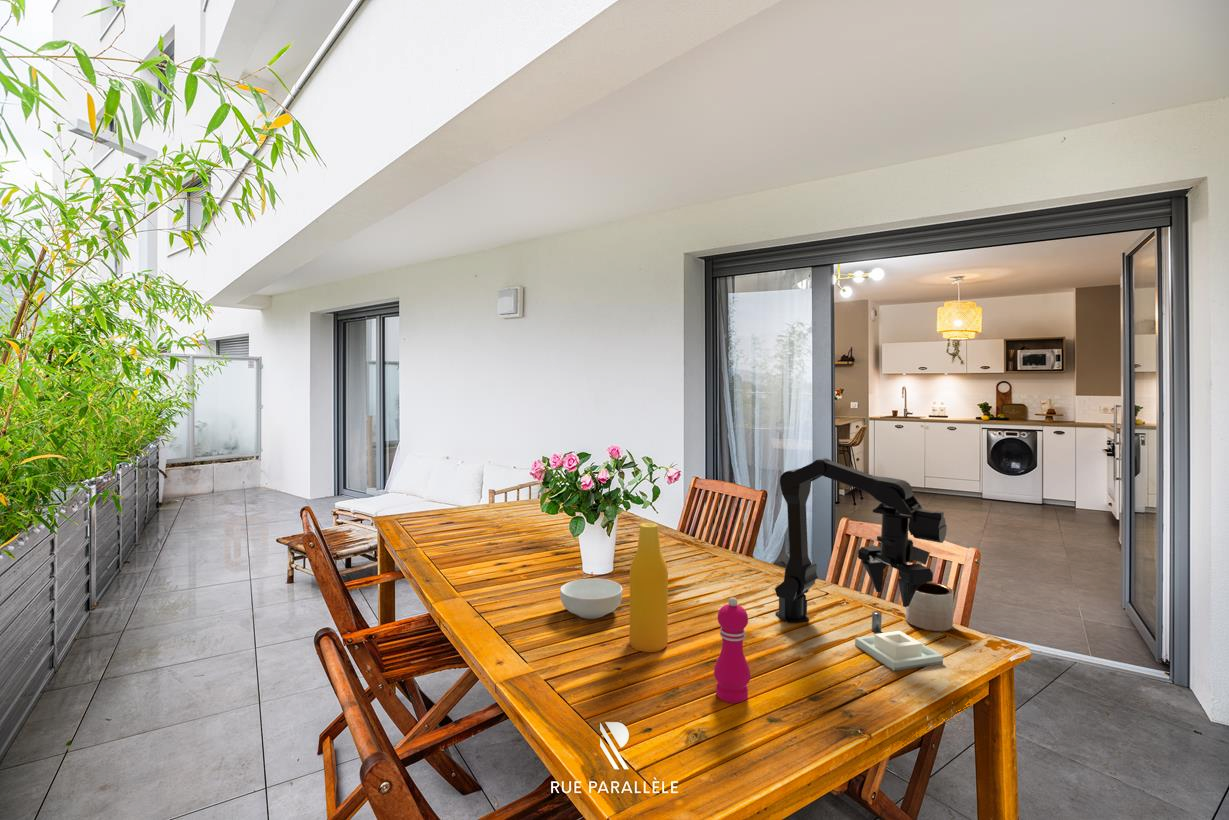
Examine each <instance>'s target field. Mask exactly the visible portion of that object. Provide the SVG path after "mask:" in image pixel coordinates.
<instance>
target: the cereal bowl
mask: <svg viewBox="0 0 1229 820" xmlns="http://www.w3.org/2000/svg"><path fill="white" fill-rule="evenodd" d="M623 591H624V590H623V586H622V585H621V584H620V583H619V582H616V581H614V580H610V579H606V578H605V579H604V578H594V577H593V578H582V579H580V578H579V579H575V580H572V581H571V580H570V581H568V582H566V583H565V584H563V585H562V586H561V587H560V589H559V593H560V595H559V596H560V601H561V604H562V605H563V607H564V608H565V609H566V610H567V611H569V612H570V613H571V614H573V615H576V616H578V617H580V618H583V619H588V620H595V619H596V620H597V619H600V618H602V617H604V616H606V615H608V614H610V613H612V612H614V611H615V610H616V609H617V608H618V607H619V606H620V604H621V602H622V599H623Z"/></svg>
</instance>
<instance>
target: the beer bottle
mask: <svg viewBox="0 0 1229 820" xmlns="http://www.w3.org/2000/svg"><path fill="white" fill-rule="evenodd" d="M638 532H639V534H638V542H637V548H636V552H635V554H634V556H633V558H632V561H631V564H630V568H629V630H628V631H629V632H628V633H629V634H628V637H629V638H628V639H629V643H630V646H631V647H632V648H633V649H634V650H637V651H639V652H643V653H656V652H659V651H663V649H665V648H667V645H668V641H669V632H668V631H669V630H668V629H669V628H668V626H669V624H668V623H669V622H668V621H669V619H668V618H669V612H668V611H669V610H668V609H669V607H668V606H669V590H668V589H669V587H668V586H669V571H668V570H669V569H668V564H667V562H666V560H665V558H664V555H663V553H662V551H661V550H662V549H661V544H660V535H659V534H660V533H659V525H658V524H657V523H655V522H643V523H640V524H639V531H638Z"/></svg>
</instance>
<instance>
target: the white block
mask: <svg viewBox="0 0 1229 820" xmlns="http://www.w3.org/2000/svg"><path fill="white" fill-rule="evenodd" d="M874 635H875V646H874V647H876V648H878V649H879V650H881V651H882V652H884V653H885V654H887V655H888V656H890V657H892V658H893V659H895V660H901V659H907V658H914V657H921V656H922V644H923V643H922V642H920V641H919V640H916V639H915V638H913V637H911V636H910V635H908V634H906V633H904V632H903V631H901V630H896V631H890V632H879V633H875V634H874Z"/></svg>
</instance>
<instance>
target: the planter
mask: <svg viewBox="0 0 1229 820" xmlns="http://www.w3.org/2000/svg"><path fill="white" fill-rule="evenodd" d="M905 620H906V621H907V623H908V624H910V625H911V626H913V627H915V628H918V629H919V630H924V631H927V632H928V631H929V632H935V633H936V632H938V633H939V632H941V633H943V632H947V631H950V630H951V629H952V628H953V626H954V590H953V588H951V587H949V586H947V585H944V584H942V583H938V582H933V581H931V582H927V583H925V584H921V585H920V586H919V587H918V588H917V590H916V592H915V594H914V596H913V598H912V600H911V602H910V604H909V606H908V607H905Z"/></svg>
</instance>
